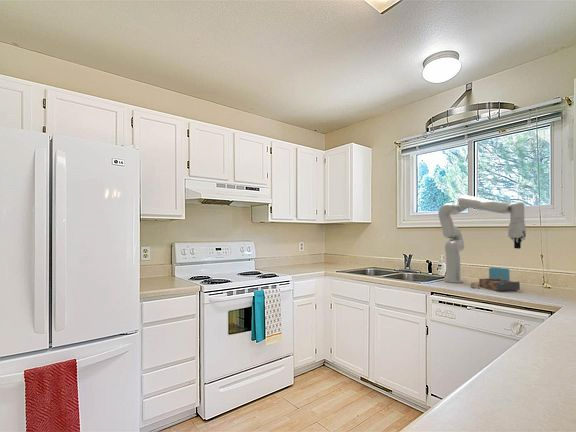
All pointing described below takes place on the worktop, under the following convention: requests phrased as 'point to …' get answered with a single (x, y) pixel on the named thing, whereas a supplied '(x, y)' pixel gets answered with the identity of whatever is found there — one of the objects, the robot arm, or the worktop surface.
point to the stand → (474, 285)
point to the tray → (508, 285)
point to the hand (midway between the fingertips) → (517, 248)
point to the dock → (492, 284)
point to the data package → (499, 273)
